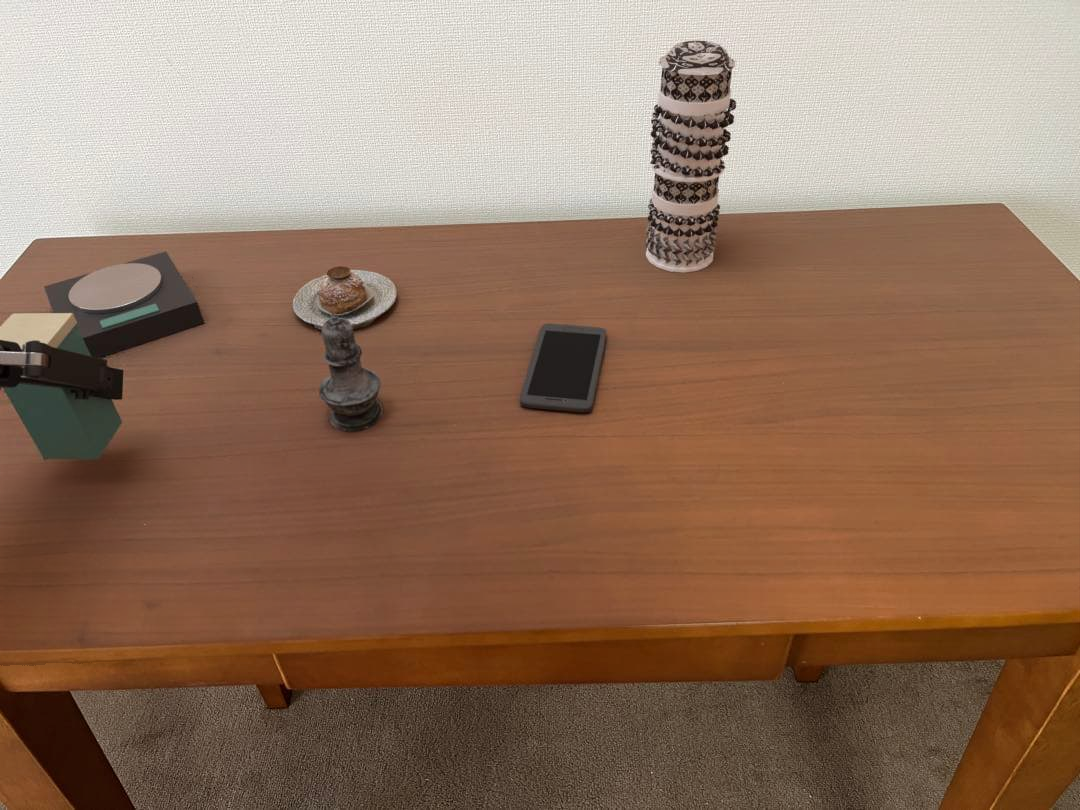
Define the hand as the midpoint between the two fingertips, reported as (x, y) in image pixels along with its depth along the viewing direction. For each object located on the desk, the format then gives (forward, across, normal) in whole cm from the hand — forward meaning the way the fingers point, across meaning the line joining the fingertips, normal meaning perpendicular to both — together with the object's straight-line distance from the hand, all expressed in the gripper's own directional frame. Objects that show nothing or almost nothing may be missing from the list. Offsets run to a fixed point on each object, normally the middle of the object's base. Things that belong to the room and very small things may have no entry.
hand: (88, 384), depth 75 cm
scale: (+20, -8, +10) cm, 24 cm away
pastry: (+21, +18, +12) cm, 30 cm away
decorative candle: (+29, +58, +19) cm, 67 cm away
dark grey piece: (+8, +23, -2) cm, 24 cm away
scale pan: (+18, -8, +13) cm, 24 cm away
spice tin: (0, 0, -5) cm, 5 cm away
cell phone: (+12, +44, +3) cm, 45 cm away
